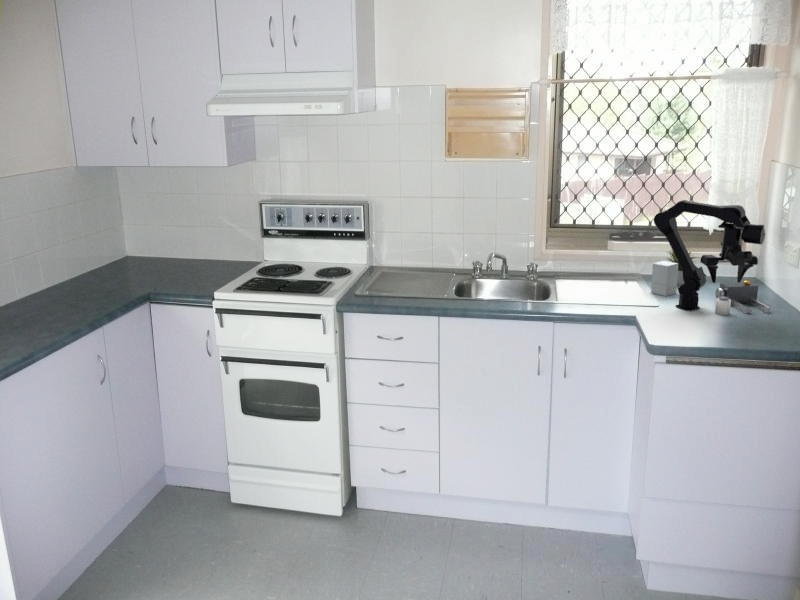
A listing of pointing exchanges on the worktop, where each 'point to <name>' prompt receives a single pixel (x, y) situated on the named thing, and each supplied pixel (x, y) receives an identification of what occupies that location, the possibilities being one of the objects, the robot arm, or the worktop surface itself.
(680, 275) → the house plant
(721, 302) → the bottle
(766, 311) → the motor clip
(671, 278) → the supplement box
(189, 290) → the worktop surface
